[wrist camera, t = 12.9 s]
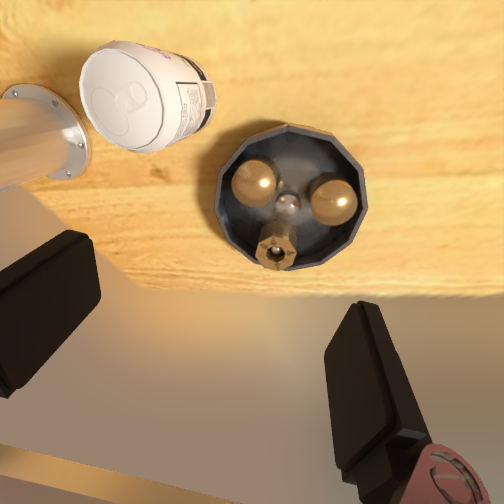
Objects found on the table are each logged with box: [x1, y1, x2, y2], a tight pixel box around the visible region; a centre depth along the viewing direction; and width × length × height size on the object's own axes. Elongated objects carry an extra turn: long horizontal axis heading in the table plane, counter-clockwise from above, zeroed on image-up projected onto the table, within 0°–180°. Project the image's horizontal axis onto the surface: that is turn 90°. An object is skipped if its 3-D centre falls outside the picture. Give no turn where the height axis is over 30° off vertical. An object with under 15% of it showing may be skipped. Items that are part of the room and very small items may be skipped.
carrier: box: [214, 123, 368, 271], centre depth 36 cm, size 20×20×6 cm
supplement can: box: [79, 41, 217, 154], centre depth 27 cm, size 8×8×15 cm
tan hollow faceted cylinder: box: [255, 220, 297, 271], centre depth 39 cm, size 5×5×5 cm
